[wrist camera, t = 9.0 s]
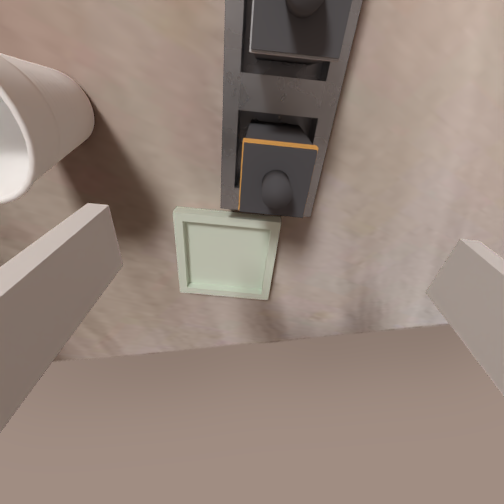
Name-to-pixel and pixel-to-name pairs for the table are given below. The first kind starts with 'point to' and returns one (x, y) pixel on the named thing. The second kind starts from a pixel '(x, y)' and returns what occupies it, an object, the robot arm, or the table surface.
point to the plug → (276, 169)
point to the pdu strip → (275, 96)
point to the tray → (225, 252)
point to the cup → (37, 122)
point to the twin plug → (298, 30)
